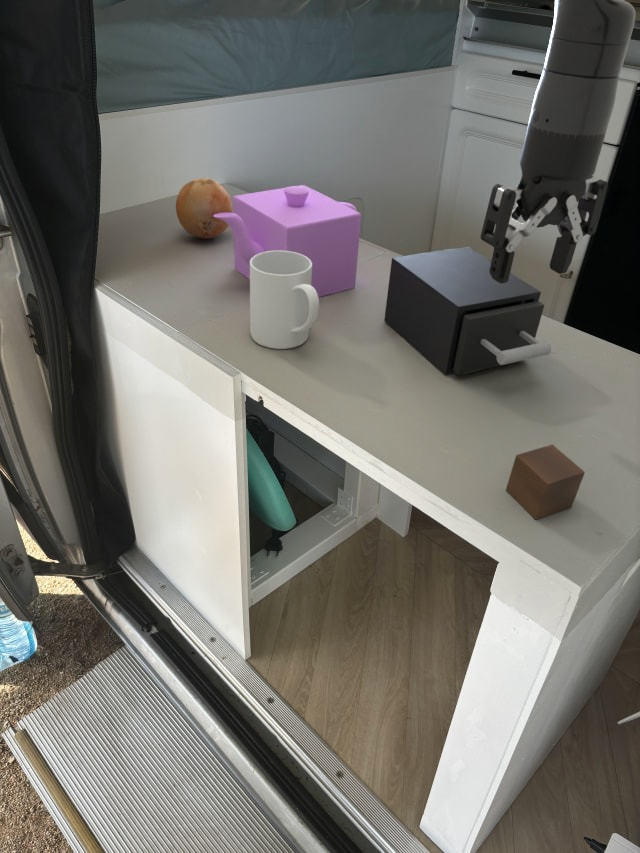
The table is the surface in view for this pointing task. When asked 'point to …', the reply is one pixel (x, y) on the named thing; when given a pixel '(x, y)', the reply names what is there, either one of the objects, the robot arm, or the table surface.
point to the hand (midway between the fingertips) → (528, 275)
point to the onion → (203, 207)
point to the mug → (281, 299)
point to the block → (544, 481)
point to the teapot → (298, 233)
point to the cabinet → (444, 298)
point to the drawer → (498, 336)
